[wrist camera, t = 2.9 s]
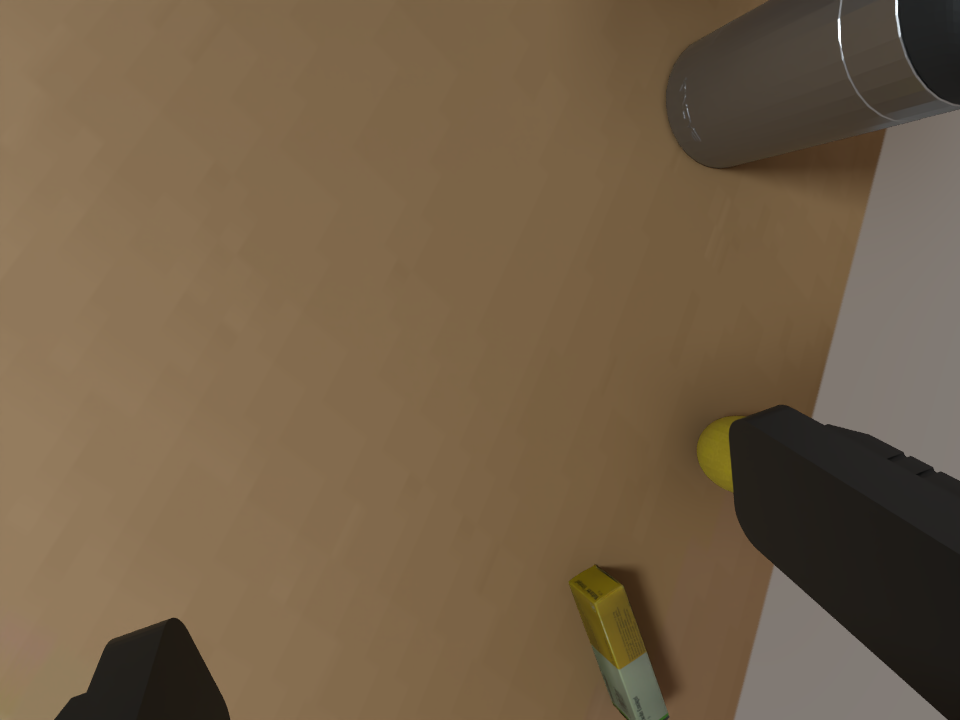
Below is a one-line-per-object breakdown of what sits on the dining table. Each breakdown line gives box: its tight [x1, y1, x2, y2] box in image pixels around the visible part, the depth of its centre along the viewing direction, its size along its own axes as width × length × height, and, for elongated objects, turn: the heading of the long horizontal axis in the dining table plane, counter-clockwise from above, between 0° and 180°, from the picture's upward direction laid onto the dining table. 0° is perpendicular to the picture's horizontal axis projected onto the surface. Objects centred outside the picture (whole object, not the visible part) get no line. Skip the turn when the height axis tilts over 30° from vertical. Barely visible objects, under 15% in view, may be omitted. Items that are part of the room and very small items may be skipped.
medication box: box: [569, 564, 669, 720], centre depth 46 cm, size 12×3×4 cm, turn 21°
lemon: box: [697, 416, 746, 492], centre depth 45 cm, size 6×6×8 cm
